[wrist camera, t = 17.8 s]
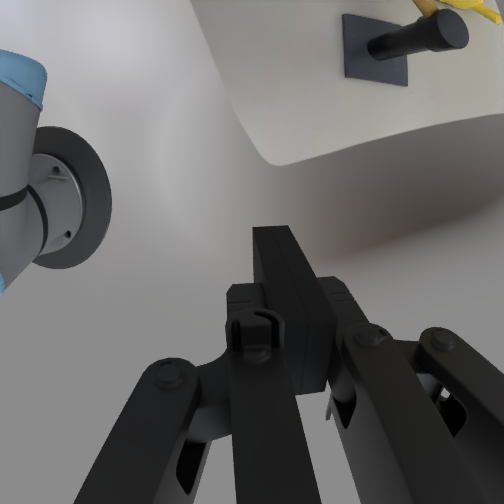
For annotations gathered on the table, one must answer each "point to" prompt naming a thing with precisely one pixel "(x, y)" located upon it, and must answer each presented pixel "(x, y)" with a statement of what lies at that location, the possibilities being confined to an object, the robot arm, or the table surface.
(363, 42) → the square base plate
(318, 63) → the table surface
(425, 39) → the spout
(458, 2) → the teapot
